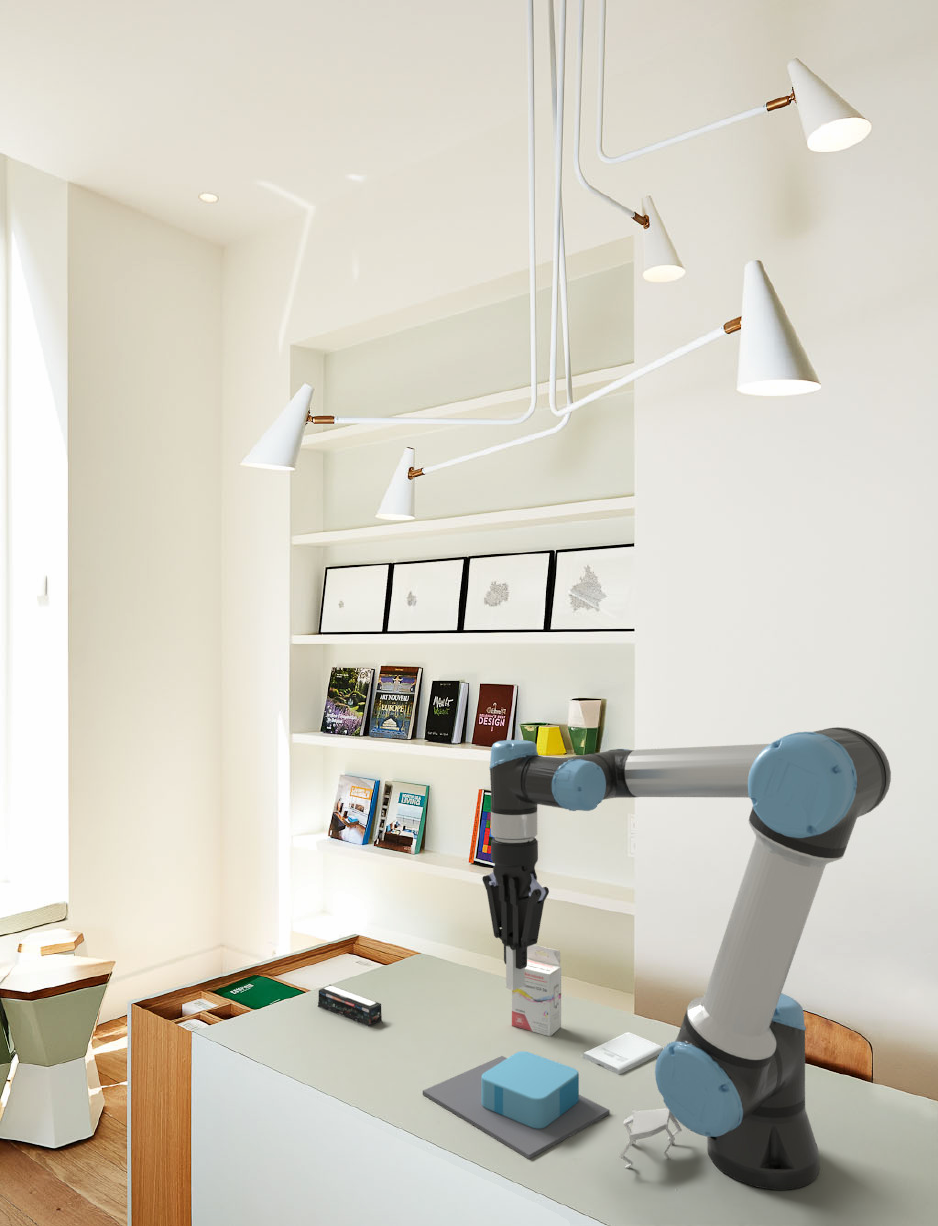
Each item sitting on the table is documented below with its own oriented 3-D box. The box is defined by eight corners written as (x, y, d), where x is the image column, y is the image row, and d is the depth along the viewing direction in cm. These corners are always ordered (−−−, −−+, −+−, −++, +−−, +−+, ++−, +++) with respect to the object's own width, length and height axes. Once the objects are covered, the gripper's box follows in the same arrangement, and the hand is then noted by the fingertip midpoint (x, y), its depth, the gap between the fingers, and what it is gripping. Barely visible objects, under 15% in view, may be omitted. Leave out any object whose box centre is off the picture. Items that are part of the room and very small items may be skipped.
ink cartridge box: (510, 1026, 168) (510, 948, 169) (523, 1017, 172) (522, 941, 173) (550, 1037, 164) (550, 957, 164) (562, 1027, 168) (562, 949, 168)
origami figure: (630, 1127, 134) (630, 1094, 134) (684, 1143, 129) (684, 1109, 130) (601, 1168, 123) (601, 1132, 123) (660, 1187, 119) (660, 1150, 119)
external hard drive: (663, 1055, 158) (618, 1078, 150) (627, 1039, 164) (582, 1060, 156) (663, 1046, 158) (618, 1068, 150) (627, 1030, 164) (582, 1051, 156)
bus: (336, 993, 185) (337, 973, 186) (425, 1026, 170) (425, 1004, 170) (282, 1016, 174) (282, 994, 174) (371, 1053, 158) (371, 1030, 158)
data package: (477, 1105, 138) (540, 1131, 131) (477, 1076, 139) (540, 1101, 131) (521, 1075, 148) (582, 1099, 140) (521, 1048, 148) (582, 1070, 140)
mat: (609, 1113, 137) (609, 1109, 137) (529, 1158, 125) (529, 1154, 125) (502, 1059, 155) (502, 1055, 155) (422, 1094, 143) (422, 1090, 143)
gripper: (560, 840, 139) (562, 992, 138) (502, 828, 149) (503, 970, 148) (527, 847, 134) (528, 1005, 133) (469, 834, 144) (470, 981, 143)
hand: (515, 986), depth 140 cm, fingers closed
